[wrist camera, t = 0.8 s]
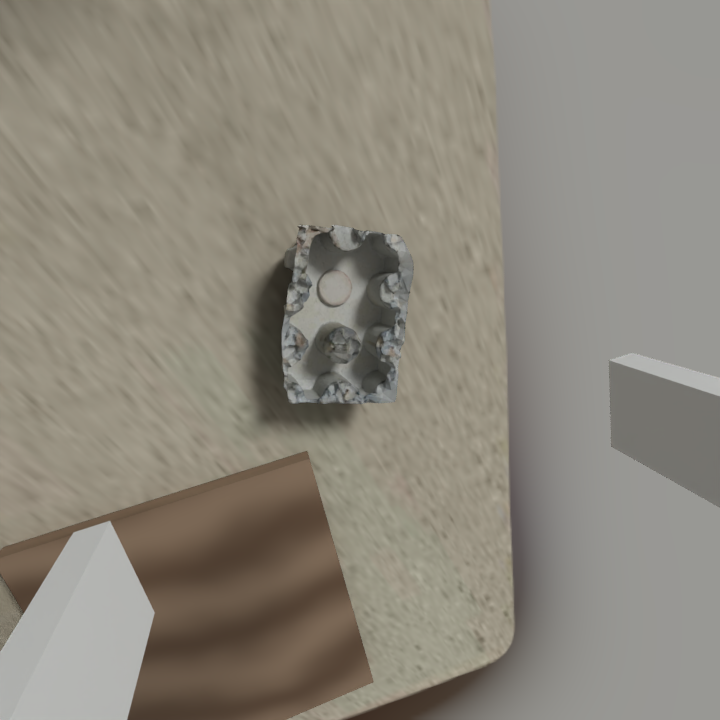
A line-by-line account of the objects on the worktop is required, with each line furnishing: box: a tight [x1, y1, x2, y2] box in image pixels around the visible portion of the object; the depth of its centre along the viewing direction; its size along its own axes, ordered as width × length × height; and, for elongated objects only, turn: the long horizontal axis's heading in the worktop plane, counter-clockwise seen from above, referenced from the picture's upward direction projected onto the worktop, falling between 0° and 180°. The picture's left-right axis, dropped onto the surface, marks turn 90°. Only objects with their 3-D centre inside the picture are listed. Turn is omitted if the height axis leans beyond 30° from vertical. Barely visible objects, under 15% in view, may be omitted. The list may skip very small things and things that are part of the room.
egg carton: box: [281, 225, 413, 404], centre depth 26 cm, size 11×8×4 cm
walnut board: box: [0, 451, 373, 720], centre depth 31 cm, size 22×20×1 cm
